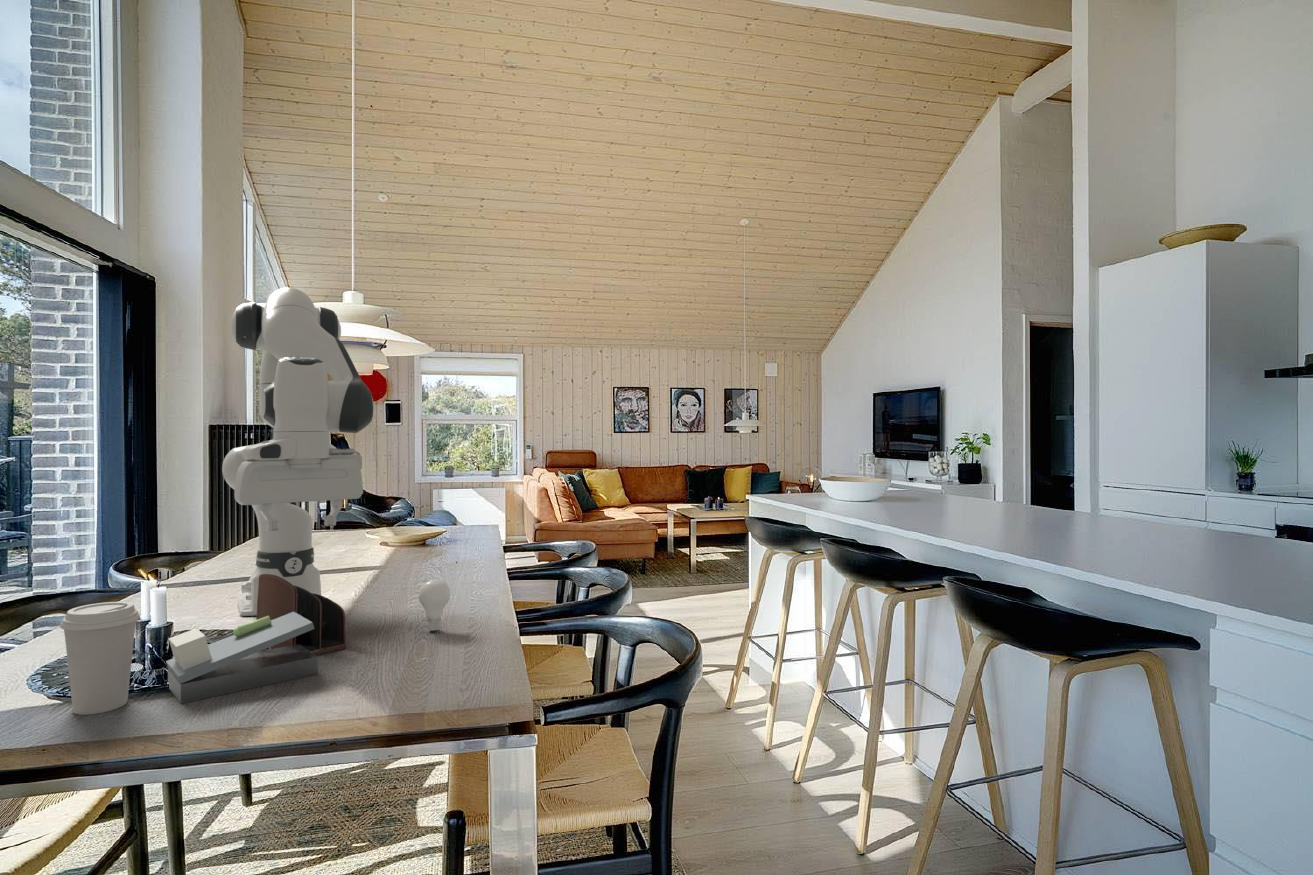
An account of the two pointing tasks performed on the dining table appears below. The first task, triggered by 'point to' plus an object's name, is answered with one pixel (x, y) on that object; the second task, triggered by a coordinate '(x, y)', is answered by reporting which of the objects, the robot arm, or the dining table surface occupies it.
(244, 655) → the tilted grey plate
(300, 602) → the letter holder
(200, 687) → the base
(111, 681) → the coffee cup
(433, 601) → the lightbulb
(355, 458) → the robot arm
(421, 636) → the dining table surface
